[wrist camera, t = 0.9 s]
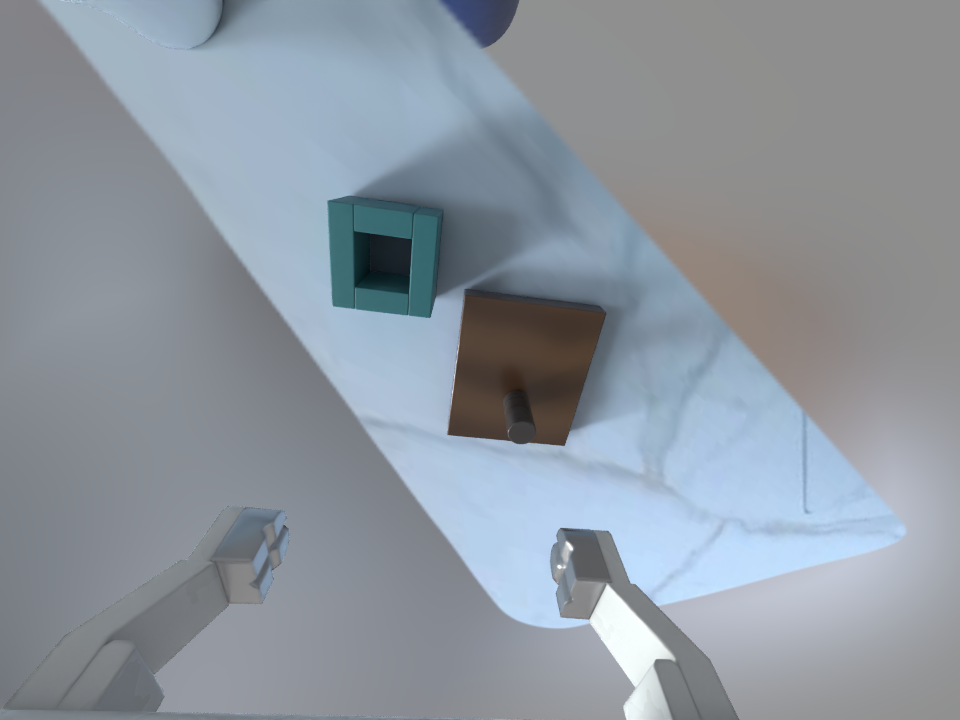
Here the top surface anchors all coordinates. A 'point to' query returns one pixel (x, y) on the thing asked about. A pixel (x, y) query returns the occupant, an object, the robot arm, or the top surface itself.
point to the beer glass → (165, 19)
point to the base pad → (521, 367)
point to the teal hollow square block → (352, 255)
